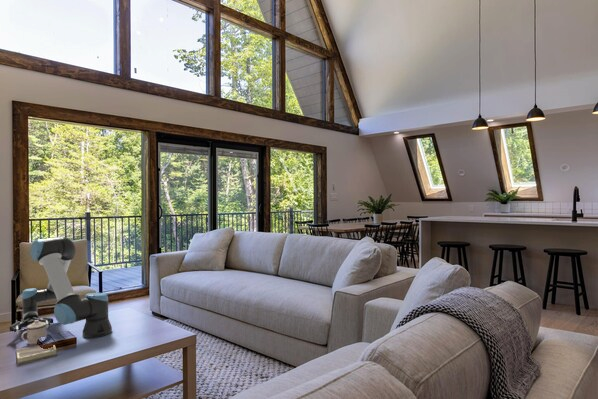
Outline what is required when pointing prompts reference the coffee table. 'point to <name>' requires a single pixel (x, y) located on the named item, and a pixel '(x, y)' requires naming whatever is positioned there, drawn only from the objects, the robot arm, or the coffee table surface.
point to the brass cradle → (36, 355)
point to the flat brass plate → (31, 351)
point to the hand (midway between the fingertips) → (32, 328)
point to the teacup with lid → (35, 332)
